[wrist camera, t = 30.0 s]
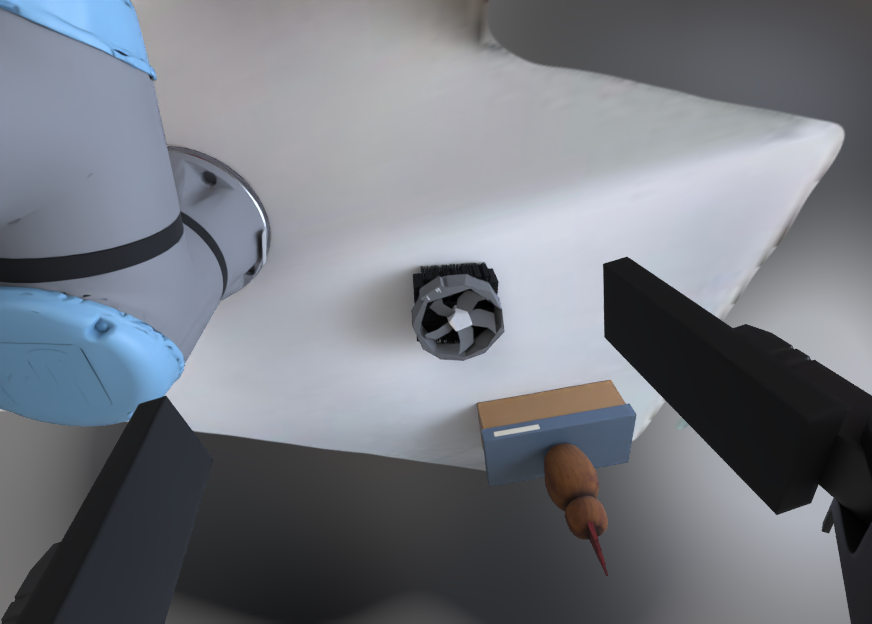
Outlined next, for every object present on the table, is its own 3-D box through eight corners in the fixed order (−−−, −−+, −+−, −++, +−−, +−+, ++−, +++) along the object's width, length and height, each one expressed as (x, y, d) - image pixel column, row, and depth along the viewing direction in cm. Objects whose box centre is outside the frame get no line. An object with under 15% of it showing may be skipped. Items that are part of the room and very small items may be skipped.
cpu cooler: (502, 358, 51) (414, 365, 50) (492, 329, 55) (412, 335, 55) (509, 281, 45) (410, 287, 44) (497, 255, 50) (407, 261, 49)
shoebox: (480, 447, 68) (489, 487, 62) (474, 401, 62) (483, 441, 56) (607, 424, 68) (628, 462, 62) (613, 377, 62) (636, 414, 57)
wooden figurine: (573, 467, 62) (621, 581, 49) (533, 469, 61) (572, 584, 48) (587, 435, 58) (642, 549, 45) (545, 436, 57) (590, 552, 45)
